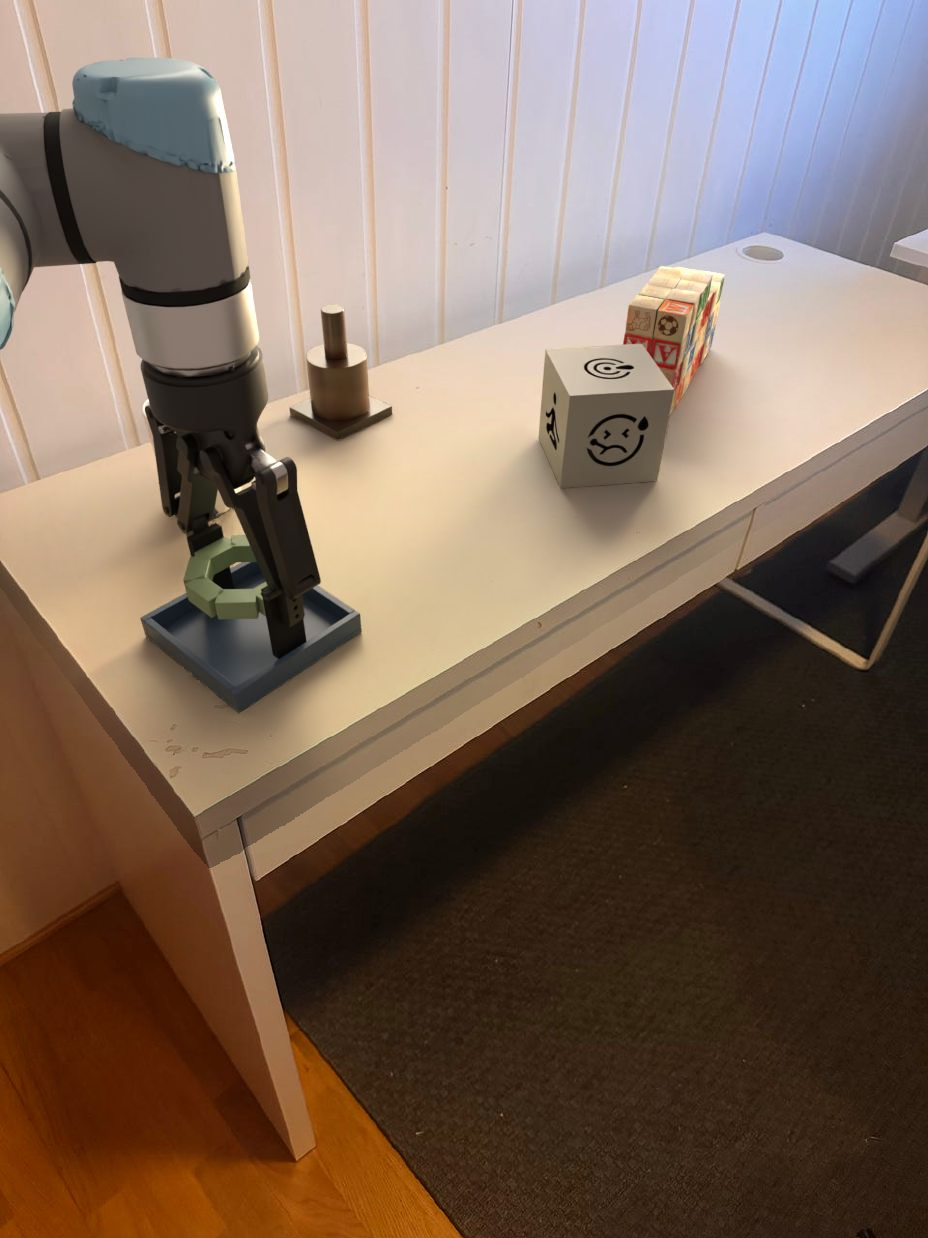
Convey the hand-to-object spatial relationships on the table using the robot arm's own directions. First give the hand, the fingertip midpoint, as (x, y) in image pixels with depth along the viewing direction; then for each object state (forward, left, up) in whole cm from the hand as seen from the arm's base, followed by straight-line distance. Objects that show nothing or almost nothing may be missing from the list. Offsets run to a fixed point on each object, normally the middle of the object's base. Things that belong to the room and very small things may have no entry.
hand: (253, 621), depth 71 cm
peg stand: (-22, +29, -1) cm, 36 cm away
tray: (0, 0, -1) cm, 1 cm away
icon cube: (+4, +41, -2) cm, 41 cm away
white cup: (-19, +9, -2) cm, 21 cm away
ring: (0, 0, +4) cm, 4 cm away
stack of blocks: (-1, +62, -2) cm, 62 cm away
